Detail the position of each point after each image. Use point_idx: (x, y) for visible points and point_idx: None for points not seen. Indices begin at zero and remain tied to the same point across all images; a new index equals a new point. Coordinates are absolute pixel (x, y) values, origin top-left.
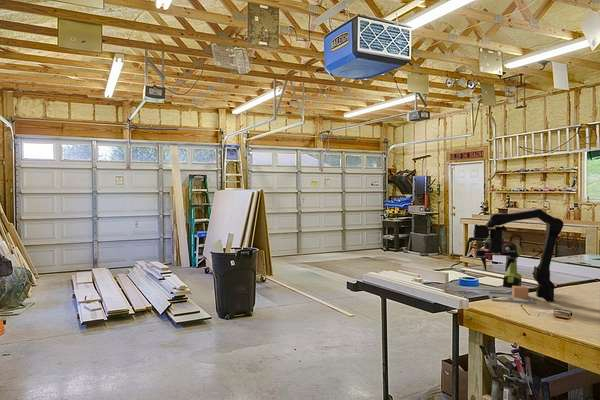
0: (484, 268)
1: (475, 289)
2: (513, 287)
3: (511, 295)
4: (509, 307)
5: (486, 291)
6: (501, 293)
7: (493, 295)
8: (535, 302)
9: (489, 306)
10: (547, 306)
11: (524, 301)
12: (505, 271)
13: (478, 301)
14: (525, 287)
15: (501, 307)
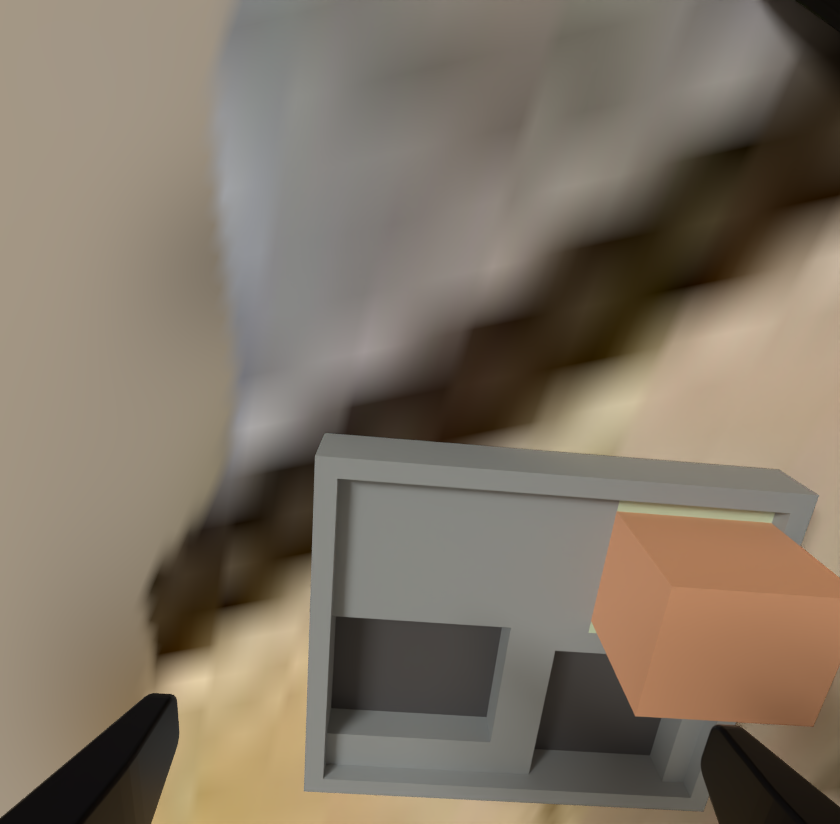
0: (105, 753)
1: (226, 50)
2: (646, 663)
3: (599, 538)
4: (441, 810)
5: (316, 455)
6: (502, 484)
7: (374, 579)
8: (701, 808)
9: (274, 813)
10: (807, 728)
11: (605, 806)
12: (702, 755)
13: (196, 688)
14: (820, 661)
15: (371, 821)
